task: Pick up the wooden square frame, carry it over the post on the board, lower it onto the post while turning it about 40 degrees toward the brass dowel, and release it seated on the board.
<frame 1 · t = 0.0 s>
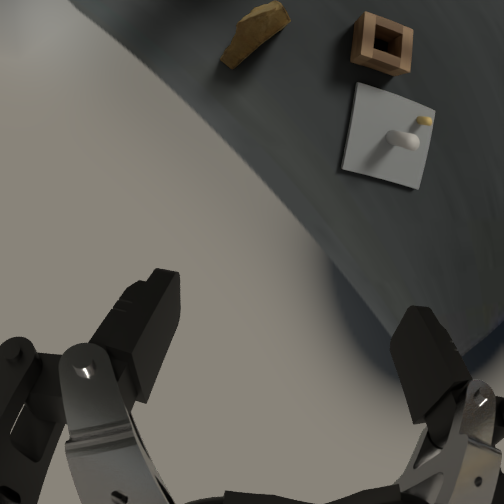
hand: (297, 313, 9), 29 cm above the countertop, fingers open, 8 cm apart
post board: (389, 136, 31), on the countertop
rock: (252, 36, 27), on the countertop
wooden square frame: (375, 48, 26), on the countertop
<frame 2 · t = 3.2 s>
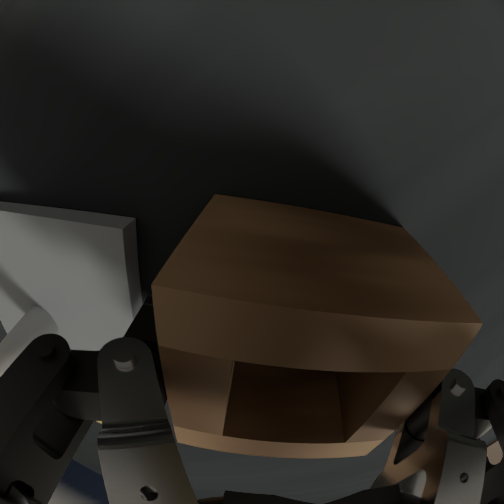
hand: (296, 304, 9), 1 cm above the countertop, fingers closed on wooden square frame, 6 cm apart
post board: (53, 309, 12), on the countertop
wooden square frame: (296, 293, 10), on the countertop, touching gripper
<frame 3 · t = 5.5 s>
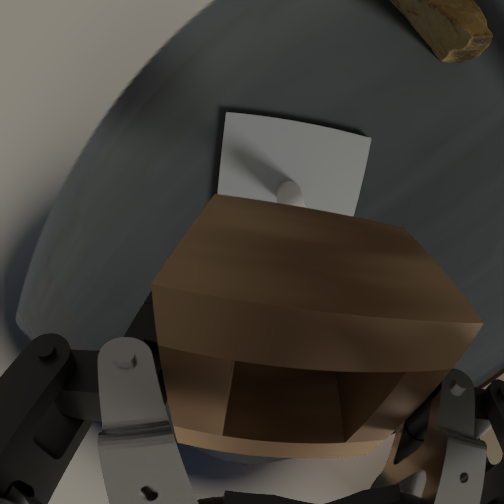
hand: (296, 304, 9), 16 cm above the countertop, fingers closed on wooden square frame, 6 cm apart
post board: (288, 189, 24), on the countertop
rock: (420, 19, 14), on the countertop
wooden square frame: (296, 292, 10), point 15 cm above the countertop, touching gripper
when the fingers open (4 cm above the countertop, at t = 8.1 s): wooden square frame drops 2 cm, resting on post board.
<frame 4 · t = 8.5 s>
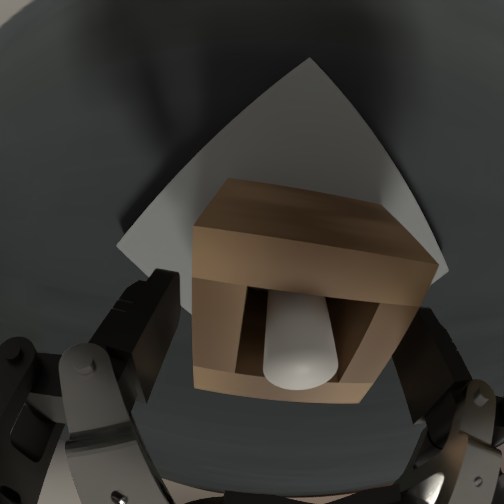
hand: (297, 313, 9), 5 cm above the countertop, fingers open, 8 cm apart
post board: (291, 249, 13), on the countertop
wooden square frame: (294, 260, 12), point 1 cm above the countertop, touching post board
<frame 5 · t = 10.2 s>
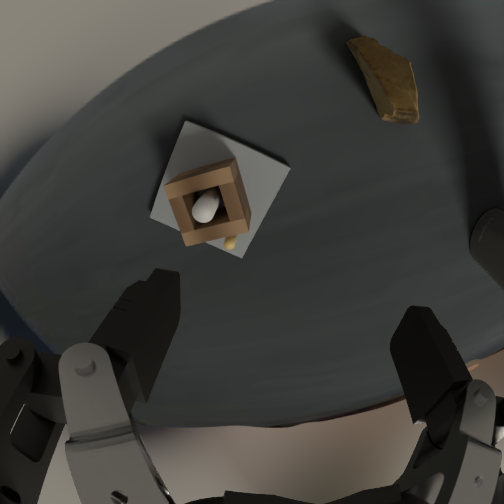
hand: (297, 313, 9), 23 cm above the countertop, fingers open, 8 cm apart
post board: (216, 190, 30), on the countertop
rock: (378, 79, 23), on the countertop
wooden square frame: (215, 193, 29), point 1 cm above the countertop, touching post board
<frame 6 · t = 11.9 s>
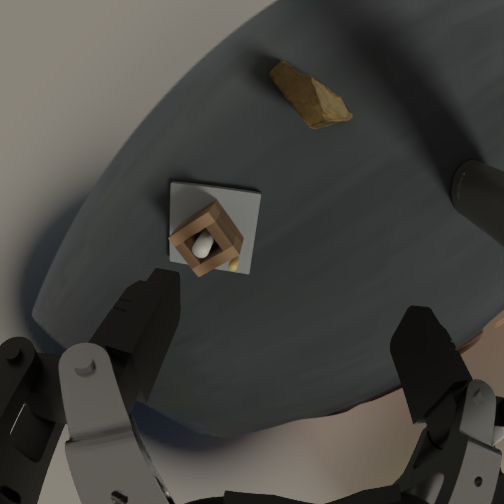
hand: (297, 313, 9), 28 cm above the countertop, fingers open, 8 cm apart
post board: (212, 227, 38), on the countertop
rock: (309, 92, 29), on the countertop
wooden square frame: (211, 230, 38), point 1 cm above the countertop, touching post board
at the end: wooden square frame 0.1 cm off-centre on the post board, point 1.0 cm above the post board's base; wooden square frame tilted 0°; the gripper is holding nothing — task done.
